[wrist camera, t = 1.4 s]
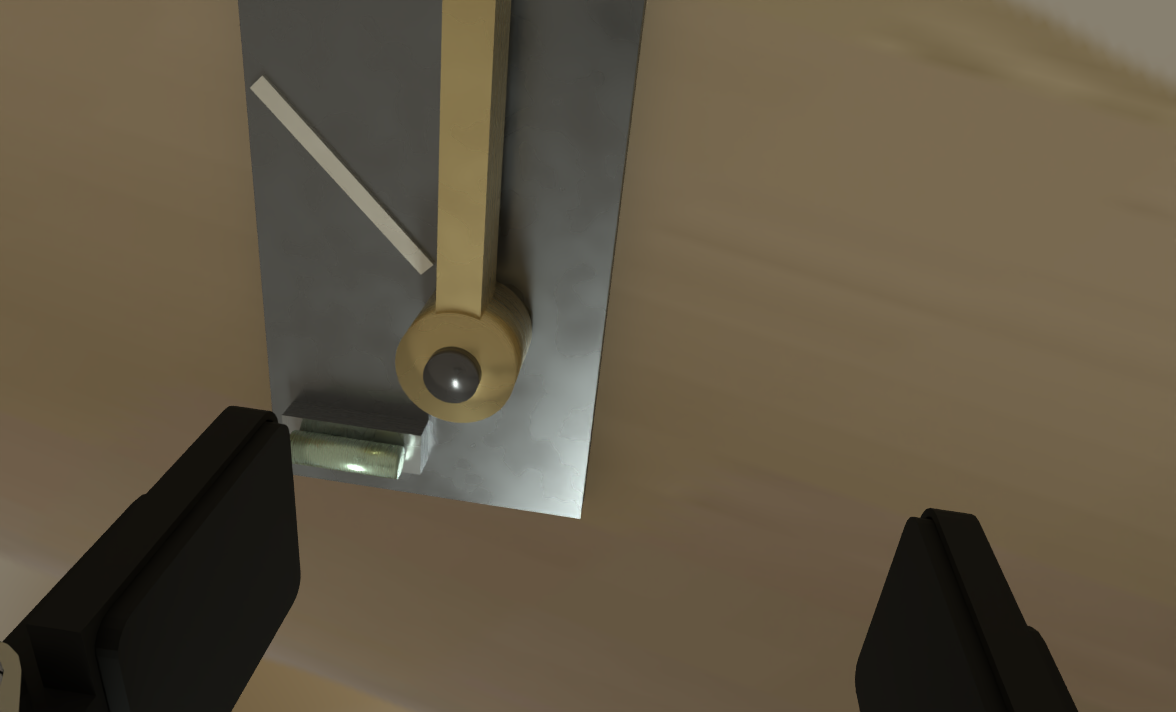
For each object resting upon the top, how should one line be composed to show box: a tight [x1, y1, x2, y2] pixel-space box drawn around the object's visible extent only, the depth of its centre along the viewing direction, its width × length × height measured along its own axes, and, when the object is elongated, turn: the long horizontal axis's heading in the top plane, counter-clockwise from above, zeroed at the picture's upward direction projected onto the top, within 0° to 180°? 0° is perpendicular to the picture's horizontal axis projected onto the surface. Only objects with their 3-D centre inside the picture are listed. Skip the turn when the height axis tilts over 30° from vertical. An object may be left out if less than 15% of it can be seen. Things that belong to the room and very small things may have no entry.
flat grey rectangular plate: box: [238, 0, 646, 519], centre depth 33 cm, size 14×23×4 cm, turn 174°
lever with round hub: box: [395, 0, 532, 423], centre depth 30 cm, size 4×15×4 cm, turn 174°
